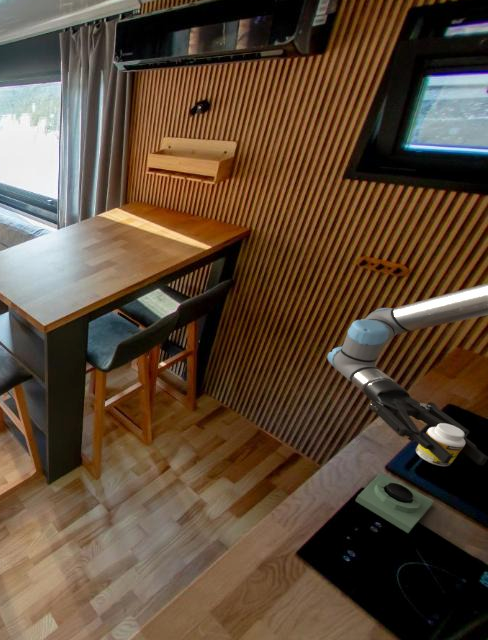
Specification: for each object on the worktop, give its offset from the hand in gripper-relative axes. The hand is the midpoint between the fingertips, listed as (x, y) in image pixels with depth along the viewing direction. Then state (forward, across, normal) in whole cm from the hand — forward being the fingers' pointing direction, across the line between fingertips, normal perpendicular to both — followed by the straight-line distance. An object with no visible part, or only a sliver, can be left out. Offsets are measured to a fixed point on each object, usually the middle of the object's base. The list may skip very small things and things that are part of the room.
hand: (465, 460), depth 83 cm
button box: (+3, +11, -14) cm, 18 cm away
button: (+3, +11, -10) cm, 16 cm away
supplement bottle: (-5, 0, -6) cm, 8 cm away
